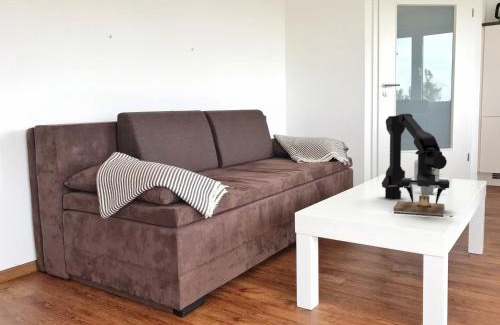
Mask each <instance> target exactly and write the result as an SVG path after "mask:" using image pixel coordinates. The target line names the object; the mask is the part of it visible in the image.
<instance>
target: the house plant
mask: <svg viewBox="0 0 500 325" xmlns="http://www.w3.org/2000/svg"><path fill="white" fill-rule="evenodd" d="M417 166H418V165H417ZM435 169H436V168H433V170H432V175H434V174H435V173H436V172H435V173H433V172H434V170H435ZM435 171H436V170H435ZM441 175H443V173H442V174H441V173H439V175H435V176H436V177H437V176H439V178H440V177H441ZM434 189H435V187H434V185H430V186H429V187H426V186H421V187H420V192H421V195H428V196H432V195H433V194H434Z"/></svg>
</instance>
